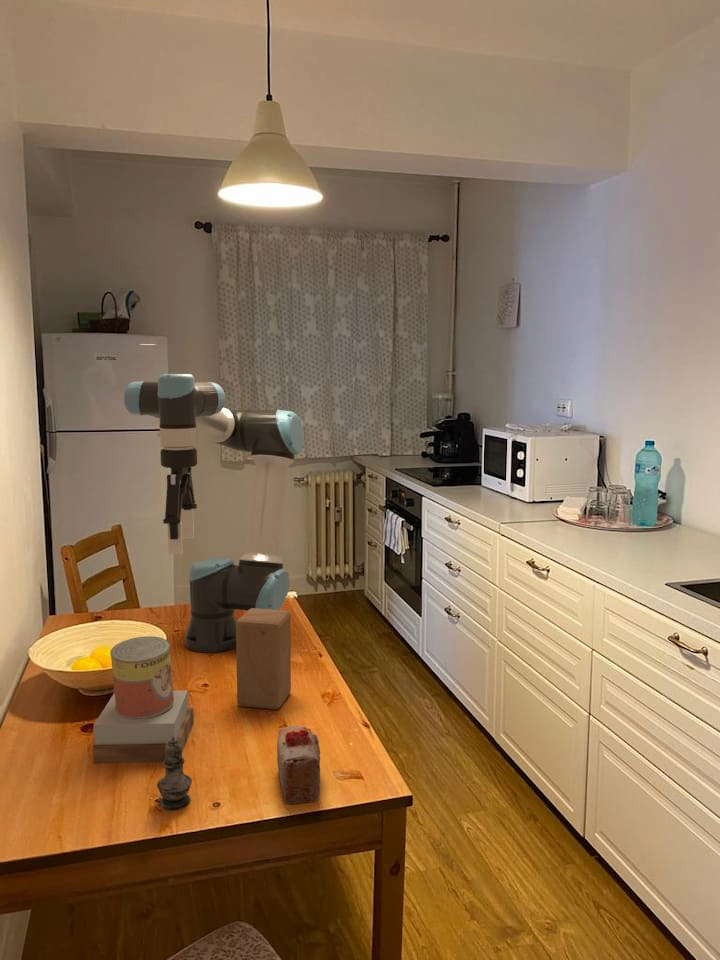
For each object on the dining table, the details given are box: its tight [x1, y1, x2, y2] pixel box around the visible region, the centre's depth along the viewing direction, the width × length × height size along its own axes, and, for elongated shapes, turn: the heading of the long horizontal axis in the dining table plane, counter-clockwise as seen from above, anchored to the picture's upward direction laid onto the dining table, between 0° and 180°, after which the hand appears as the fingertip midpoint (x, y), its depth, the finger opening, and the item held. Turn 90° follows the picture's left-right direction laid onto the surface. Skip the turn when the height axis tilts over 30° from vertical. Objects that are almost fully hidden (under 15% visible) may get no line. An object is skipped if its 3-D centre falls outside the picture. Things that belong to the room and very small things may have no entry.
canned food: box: [109, 635, 174, 719], centre depth 148 cm, size 11×11×12 cm
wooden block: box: [235, 608, 292, 710], centre depth 168 cm, size 10×10×20 cm
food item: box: [276, 725, 321, 805], centre depth 135 cm, size 14×8×10 cm, turn 12°
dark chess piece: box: [156, 737, 193, 812], centre depth 128 cm, size 6×6×12 cm
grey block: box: [93, 689, 189, 745], centre depth 149 cm, size 15×15×4 cm
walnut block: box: [92, 707, 195, 764], centre depth 150 cm, size 16×16×4 cm
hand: (182, 545), depth 161 cm, fingers open, 13 cm apart
